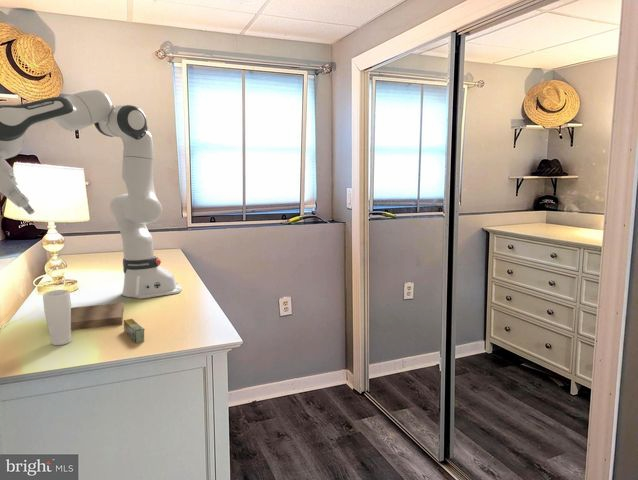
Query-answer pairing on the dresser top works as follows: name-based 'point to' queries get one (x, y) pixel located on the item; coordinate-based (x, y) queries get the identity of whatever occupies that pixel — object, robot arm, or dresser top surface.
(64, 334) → the drinking glass
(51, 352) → the dresser top surface
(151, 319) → the dresser top surface
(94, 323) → the walnut board
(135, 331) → the medication box
